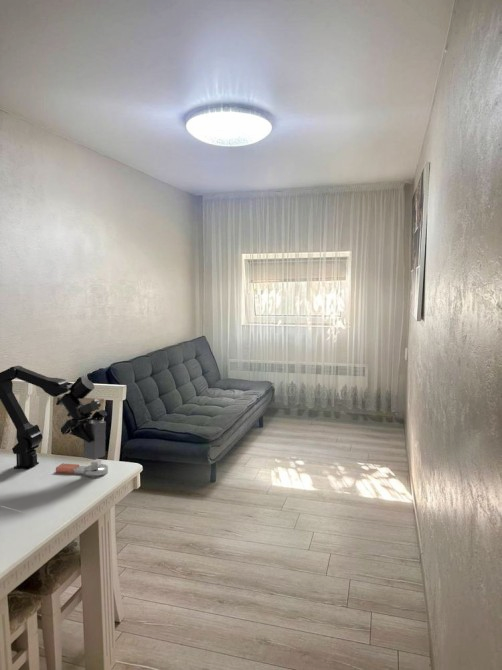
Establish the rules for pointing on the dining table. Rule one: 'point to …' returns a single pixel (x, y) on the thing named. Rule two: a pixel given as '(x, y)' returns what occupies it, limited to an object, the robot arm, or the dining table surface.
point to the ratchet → (84, 469)
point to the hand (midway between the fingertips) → (97, 439)
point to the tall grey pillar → (95, 439)
